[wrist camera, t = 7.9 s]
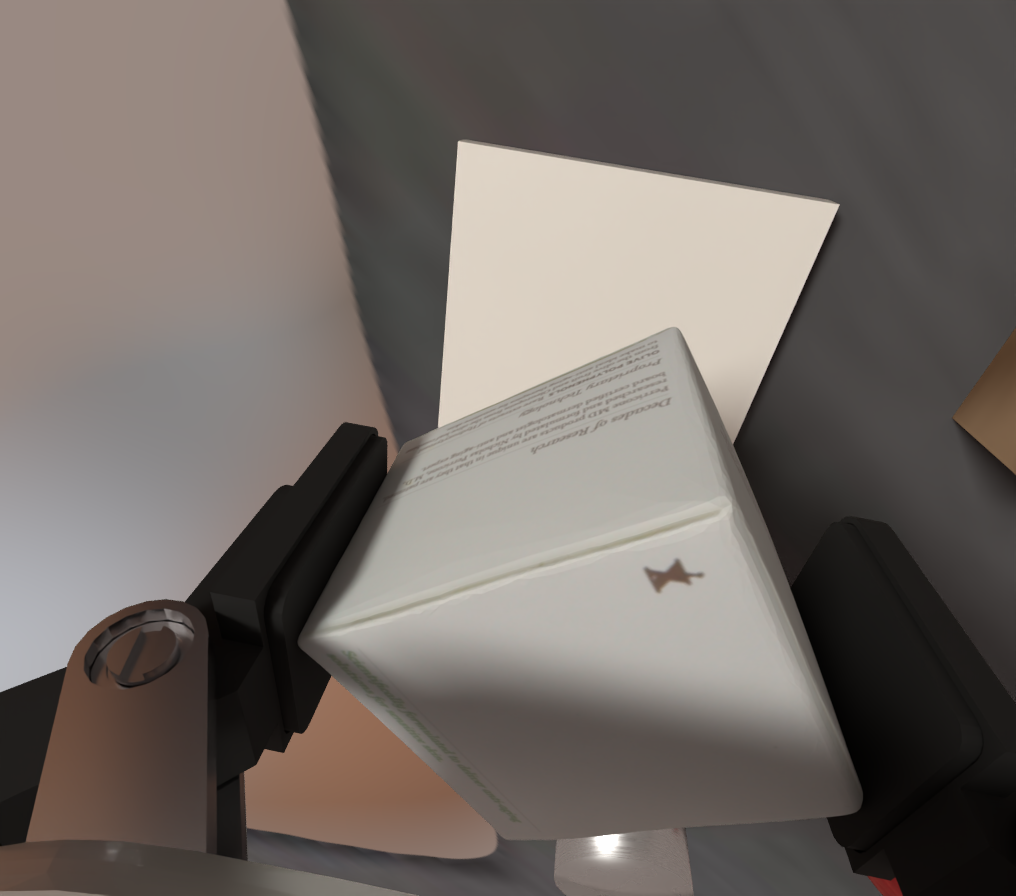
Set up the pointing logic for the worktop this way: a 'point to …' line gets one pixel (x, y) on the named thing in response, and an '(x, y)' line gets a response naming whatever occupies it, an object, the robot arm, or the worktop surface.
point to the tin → (625, 864)
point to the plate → (615, 272)
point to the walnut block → (994, 406)
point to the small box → (587, 614)
